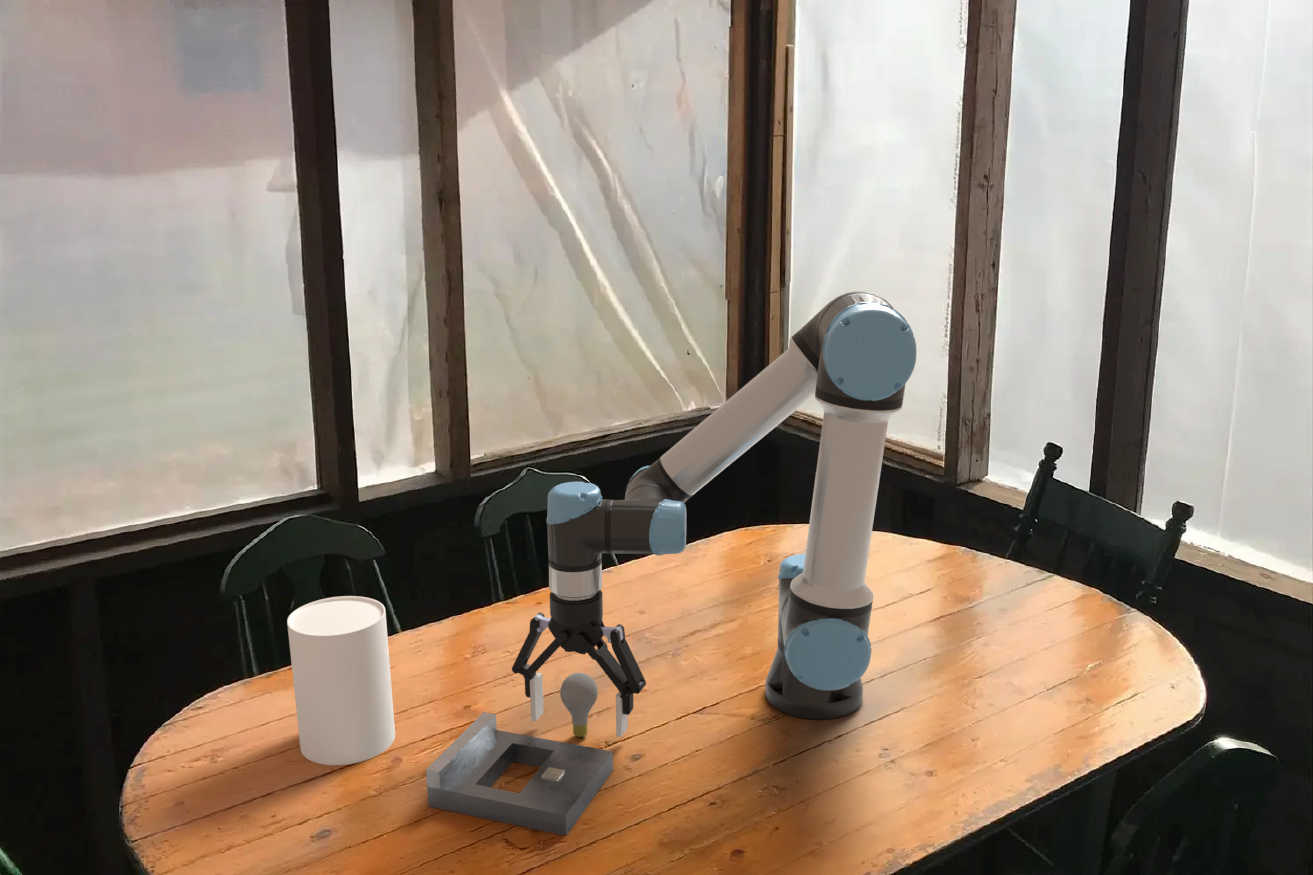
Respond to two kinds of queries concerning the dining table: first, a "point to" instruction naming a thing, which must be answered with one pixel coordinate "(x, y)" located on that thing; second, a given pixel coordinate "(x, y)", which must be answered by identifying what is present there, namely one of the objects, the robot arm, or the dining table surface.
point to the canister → (342, 679)
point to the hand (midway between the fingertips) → (579, 724)
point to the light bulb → (579, 700)
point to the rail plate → (546, 797)
